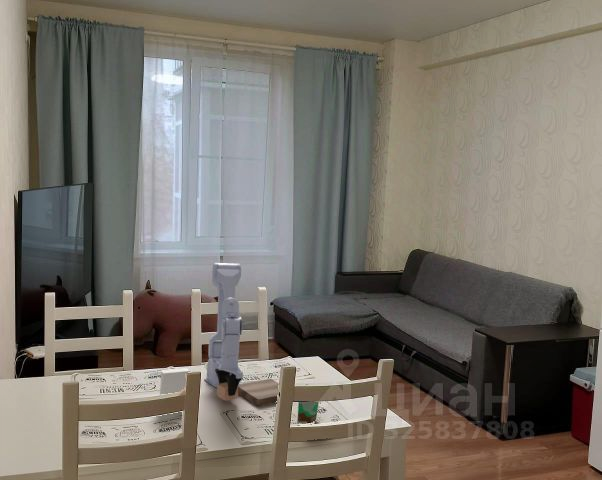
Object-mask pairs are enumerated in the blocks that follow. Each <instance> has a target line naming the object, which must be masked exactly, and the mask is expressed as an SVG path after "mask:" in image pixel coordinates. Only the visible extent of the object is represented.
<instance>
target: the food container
mask: <svg viewBox="0 0 602 480" xmlns="http://www.w3.org/2000/svg"><path fill="white" fill-rule="evenodd" d="M306 385H308V384H305V386H306ZM297 404H298V407H297V422H296V423H311V422H313V421H315V420H316V421H317V414H318V410H319V404H320V401H319V402H298V401H297Z"/></svg>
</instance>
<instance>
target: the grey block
mask: <svg viewBox="0 0 602 480" xmlns="http://www.w3.org/2000/svg"><path fill="white" fill-rule="evenodd" d="M190 371H191V370H190V369H189V368H187V367H184V368H182V367H181V368H172V369H171V368H170V369H162V370H161V371H160V388H159V389H160V391H159V392H160V393H159V396H160V395H161V394H168V393H175V392H179V391H181V390H182V389H184V387H185V374H186V373H188V372H190ZM190 373H191V372H190Z"/></svg>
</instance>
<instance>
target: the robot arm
mask: <svg viewBox="0 0 602 480" xmlns="http://www.w3.org/2000/svg"><path fill="white" fill-rule="evenodd" d="M211 272H212V273H211V275H212V278H211V279H212V280H211V282H212V285H213V286H215V287H216V288H217V322H216V324H217V325H216V327H217V328H216V329H217V330H216V332H215V333H214V334H212V335H210V338H209V341H208V350H207V351H208V353H207V354H208V358H209V359H207V363H206V377H204V379H203V380H204V381H206V382H207V383H209V384H210V385H212V386H213V387H215V388H216V389H217V388H218V384H220V383H226V382H227V383H228V395H229V396H233V395H235V393H236V390H237V387H238V385H239V384H241V381H242V379H244V372H243V371H242V370H241V369H240V368H241V367H239V355H240V353H239V351H240V340H241V339H240V337H241V335H242V332H243V320H242V316H241V314H240V306H239V305H240V304H239V301H238V300H237V299H236V287H237V286H238V284H239V282H240V279H241V277H242V266H241V264H240V263H226V262H225V263H224V262H214V263H213V264H212V271H211Z"/></svg>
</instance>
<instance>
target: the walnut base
mask: <svg viewBox="0 0 602 480" xmlns="http://www.w3.org/2000/svg"><path fill="white" fill-rule="evenodd" d="M279 384H280V383H279V382H277V381H276V380H274V379H272V378H267V379H261V380H255V381H249V382H244V383H239V385H238V395H239V396H240V397H242V398H244V399H246V400H247V401H248V402H250V403H252V404H253V405H255V406H256V407H262V406H268V405H272V404H276V403H275V402H276V401H277V395H278V385H279Z"/></svg>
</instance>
